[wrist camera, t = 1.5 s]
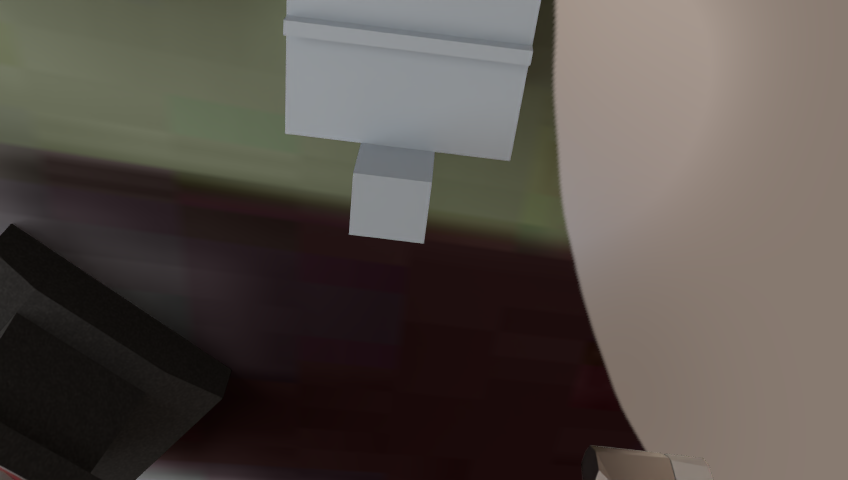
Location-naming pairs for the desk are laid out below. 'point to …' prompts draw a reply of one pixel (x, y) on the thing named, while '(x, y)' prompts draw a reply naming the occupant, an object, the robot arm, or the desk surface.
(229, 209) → the desk surface
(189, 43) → the desk surface
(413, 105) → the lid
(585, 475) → the robot arm
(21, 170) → the desk surface
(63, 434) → the camera
